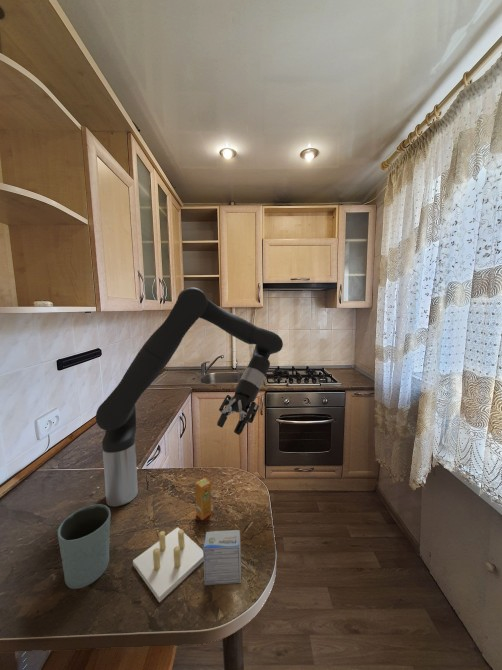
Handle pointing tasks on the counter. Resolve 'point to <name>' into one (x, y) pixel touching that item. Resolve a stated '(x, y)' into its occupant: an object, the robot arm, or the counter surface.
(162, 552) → the pin plate
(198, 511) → the supplement box
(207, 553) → the medicine box
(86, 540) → the teal embossed cup
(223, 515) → the counter surface
